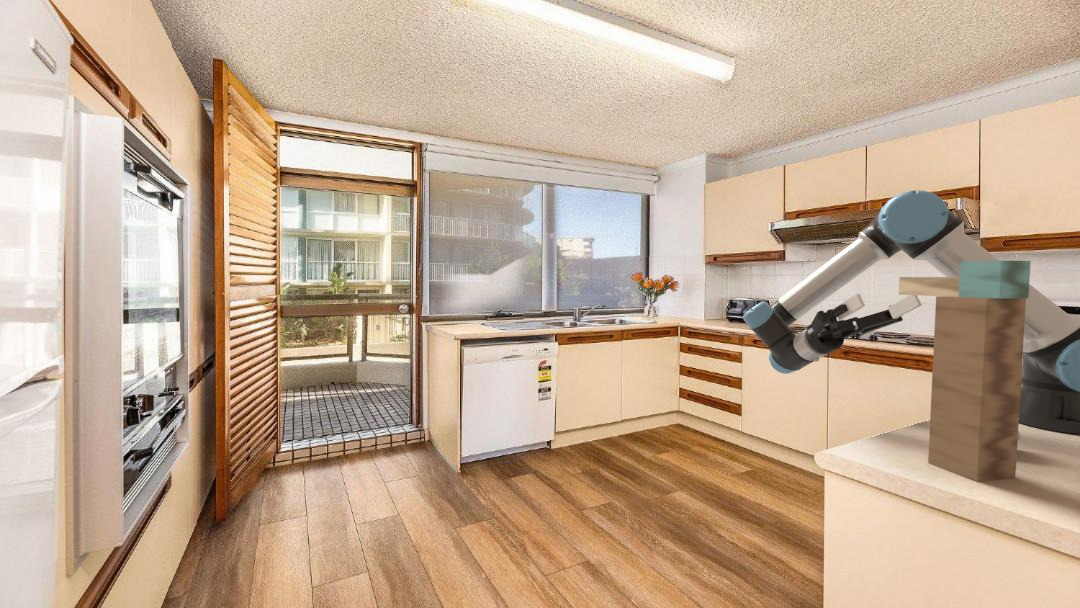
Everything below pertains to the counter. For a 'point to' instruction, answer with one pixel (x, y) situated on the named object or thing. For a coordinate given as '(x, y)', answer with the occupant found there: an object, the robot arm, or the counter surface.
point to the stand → (976, 386)
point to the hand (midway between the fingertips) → (889, 299)
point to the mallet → (974, 281)
